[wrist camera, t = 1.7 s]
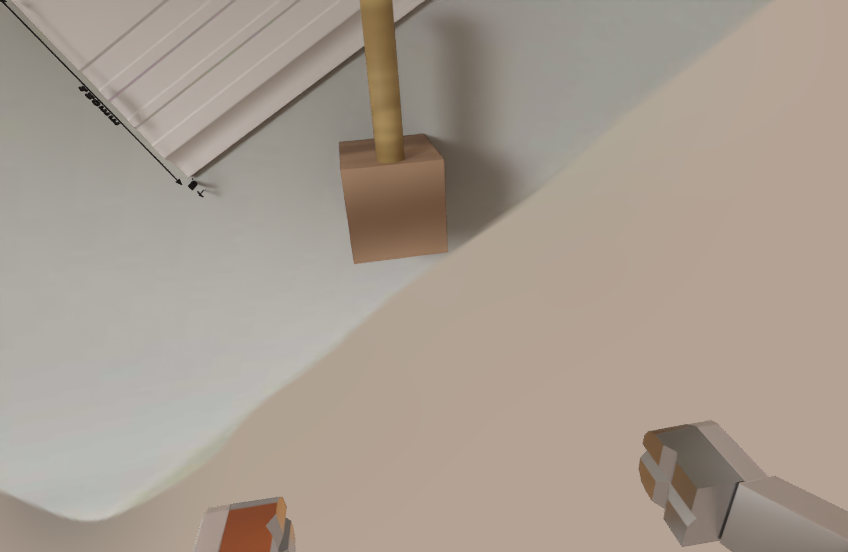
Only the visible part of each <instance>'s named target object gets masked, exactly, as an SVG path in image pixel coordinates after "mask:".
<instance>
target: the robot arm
mask: <svg viewBox="0 0 848 552" xmlns="http://www.w3.org/2000/svg"><path fill="white" fill-rule="evenodd" d="M643 445H644V447H645V448H646V449H647V451H646V452H645V453H644V454H643V455H642V456H641V458H640V463H639V472H640V477H641V482H642V484H643V486H644V488H645V490H646V492H647V494H648V495H649V497H650V499H651V500H652V501H653V502H655V503H656V504H658V505H660V506H661V507H663V508H664V520H665V522H666V523H667V525H668V526H669V528H670V529H671V531H672V532H673V534H674V535H675V537H676V538H677V540H678V542H679V543H680V545H681V546H682V547H684V546H690V545H696V544H702V543H708V542H714V541H720V540H721V541H720V543H721V544H722V545H724V546H725V547H726V548H728V549H729V550H730V551H732V552H848V511H846V510H844V509H842V508H840V507H838V506H836V505H833V504H832V503H829V502H827V501H825V500H823V499H821V498H819V497H817V496H815V495H813V494H811V493H809V492H807V491H805V490H803V489H801V488H799V487H796V486H794V485H792V484H790V483H788V482H786V481H784V480H782V479H780V478H778V477H776V476H772V477H768V476H767V475H766V474H765V472H764V471H763V470H762V469H761V468H760V467H759V466H758V465H757V464H756V463H755V462H754V461H753V460H752V459H751V458H750V457H749V456H748V455H747V454H746V453H745V452H744V451H743V449H742V448H740V446H739V445H738V444H737V443H736V442H735V441H734V440H733V439H732V438H731V437H730V436H729V435H728V434H727V433H726V432H725V431H724V430H723V429H722V428H721V427H720V426H719V424H717V423H716V422H714V421H712V420H710V421H704V422H698V423H693V424H689V425H688V424H685V425H680V426H674V427H669V428H664V429H658V430H653V431H648V432H647V433H646V434H645V435H644V439H643ZM286 508H287V507H286V504H285V501H284V499H283V497H275V498H268V499H262V500H255V501H248V502H242V503H236V504H230V505H223V506H217V507H210V508H208V509H207V511H206V512H205V514H204V516H203V518H202V522H201V525H200V528H199V532H198V535H197V538H196V542H195V545H194V548H193V552H295V535H294V529H293V525H292V522H291V520H289V519H287V518H286Z"/></svg>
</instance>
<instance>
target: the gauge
mask: <svg viewBox="0 0 848 552" xmlns="http://www.w3.org/2000/svg"><path fill="white" fill-rule="evenodd" d="M360 9H361V19H362V28H363V37H364V47H365V56H366V65H367V75H368V84H369V93H370V103H371V112H372V121H373V131H374V139H366V140H355V141H345V142H339V150H340V170H341V177H342V184H343V191H344V198H345V205H346V212H347V219H348V226H349V232H350V239H351V246H352V253H353V260H354V264H358V263H366V262H373V261H381V260H389V259H397V258H405V257H413V256H421V255H429V254H436V253H444V252H448V247H447V222H446V196H445V171H444V159H443V157H442V156H441V155H440V154H439V152H438V151H437V150H436V149H435V147H434V146H433V145H432V144H431V142H430V141H429V140H428V138H427V137H426V136H425V135H424V134H417V135H407V136H403V129H402V117H401V104H400V91H399V78H398V66H397V53H396V40H395V28H394V15H393V2H392V0H360Z"/></svg>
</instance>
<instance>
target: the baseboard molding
mask: <svg viewBox="0 0 848 552" xmlns="http://www.w3.org/2000/svg"><path fill="white" fill-rule="evenodd" d="M11 1H12V2H13V3H14V4H15V5H16V6H17V7H18V8H19V9H20V10H21V11H22V12H23V13H24V14H25V15H26V16H27V17H28V18H29V19H30V20H31V21H32V22H33V23H34V25H35V26H36V27H37V28H38V29H39V30H40V31H41V32H42V33H43V34H44V35H45V36H46V37H47V38H48V39H49V40H50V41H51V42H52V43H53V44H54V45H55V46H56V47H57V48H58V49H59V50H60V51H61V52H62V53H63V54H64V56H65V57H66V58H67V59H68V60H69V61H70V62H71V63H72V64H73V65H74V66H75V67H76V68H77V69H78V70H79V71H81V72H82V73H83V74H84V75H85V76H86V77H87V78H88V79H89V80H90V81H91V82H92V83H93V84H94V85H95V86H96V88H97V89H98V90H99V92H100V93H101V94H102V95H103V96H104V97H105V98H106V99H107V100H108V101H110V102H111V103H112V104H113V105H114V106H115V107H116V108H117V109H118V110H119V111H120V112H121V113H122V114H123V115H124V116H125V118H126V119H127V120H128V122H129V123H130V124H131V125H132V126H133V127H134V128H136V129H137V130H138V131H139V132H140V133H141V134H142V135H143V136H144V137H145V138H146V139H147V140H148V141H149V142H150V143H151V144H152V146H153V147H154V148H155V149H156V150H157V152H158V153H159V154H160V155H161V156H162V157H163V158H164V159H167V160H169V161H170V162H172V163H174V164H175V165H176V166H178V167H179V168H180V169H181V170H182V171H183V172H184V174H185V175H186V176H187V177H188V178H189V177H190V176H192V175H193V174H194V173H196V172H197V171H198V170H200V169H201V168H202V167H204V166H205V165H206V164H208V163H209V162H210V161H212V160H213V159H214V158H216V157H217V156H218V155H220V154H221V153H222V152H224V151H225V150H226V149H228V148H229V147H230V146H232V145H233V144H234V143H236V142H237V141H238V140H240V139H241V138H242V137H244V136H245V135H246V134H248V133H249V132H250V131H252V130H253V129H254V128H256V127H257V126H258V125H260V124H261V123H262V122H264V121H265V120H266V119H268V118H269V117H270V116H272V115H273V114H274V113H276V112H277V111H278V110H280V109H281V108H282V107H284V106H285V105H286V104H288V103H289V102H290V101H292V100H293V99H294V98H296V97H297V96H298V95H300V94H301V93H302V92H304V91H305V90H306V89H308V88H309V87H310V86H312V85H313V84H314V83H316V82H317V81H318V80H320V79H321V78H322V77H324V76H325V75H326V74H328V73H329V72H330V71H332V70H333V69H334V68H336V67H337V66H338V65H340V64H341V63H342V62H344V61H345V60H346V59H348V58H349V57H350V56H352V55H353V54H354V53H356V52H357V51H358V50H360V49H361V48H362V47H364V37H363V28H362V19H361V9H360V0H11ZM424 1H425V0H392V2H393V15H394V23H396V22H397V21H398V20H400V19H401V18H402V17H404V16H405V15H406V14H408V13H409V12H410V11H412V10H413V9H414V8H416V7H417V6H418V5H420V4H421V3H422V2H424ZM0 2H2V3H3V4H4V5H5V6H6V7H7V8H8V9H9V10H10V11H11V12H12V13H13V14H14V15H15V16H16V17H17V18H18V19H19V20H20V21H21V22H22V23H23V24H24V25H25V26H26V27H27V28H28V29H29V30H30V31H31V32H32V33H33V34H34V35H35V36H36V37H37V38H38V39H39V40H40V41H41V42H42V43H43V41H42V40H41V39H40V38H39V37H38V36H37V35H36V34H35V33H34V32H33V31H32V30H31V29H30V28H29V27H28V26H27V25H26V24H25V23H24V22H23V21H22V20H21V19H20V18H19V17H18V16H17V15H16V14H15V13H14V12H13V11H12V10H11V9H10V8H9V7H8V6H7V5H6V4H5V3H4V2H7V1H6V0H0ZM43 44H44V43H43ZM44 45H45V44H44ZM45 46H46V45H45ZM46 47H47V46H46ZM47 48H48V47H47ZM48 50H49V51H50V52H51V53H52V54H53V55H54V56H55V57H56V58H57V59H58V60H59V61H60V62H61V63H62V64H63V65H64V66H65V67H66V68H67V69H68V70H69V71H70V72H71V73H72V74H73V75H74V76H75V77H76V78H77V79H78V80H79V81H80V82H81V83H82V84H83V85H84V86H85V87H86V85H85V84H84V83H83V82H82V81H81V80H80V79H79V78H78V77H77V76H76V75H75V74H74V73H73V72H72V71H71V70H70V69H69V68H68V67H67V66H66V65H65V64H64V63H63V62H62V61H61V60H60V59H59V58H58V57H57V56H56V55H55V54H54V53H53V52H52V51H51V50H50V49H49V48H48ZM84 86H82V88H81V87H79V89H80V91H85V92H87V91H88V90H89V89H88V88H87V87H86V88H87V89H88V90H87V89H86V88H85V87H84ZM89 91H90V90H89ZM90 92H91V91H90ZM90 92H89V93H88V94H87V93H86V94H85V96H86V97H87V98H88V99H90V100H91V99H93V100H92V103H93V104H94V105H95V106H99V105H100V103H101V104H102V105H103V106H104V107H105V108H106V109H107V110H108V111H109V112H110V113H111V114H112V115H113V116H114V117H115V118H116V119H117V120H118V121H119V122H120V123H121V124H122V125H123V126H124V127H125V128H126V129H127V130H128V131H129V132H130V130H129V129H128V128H127V127H126V126H125V125H124V124H123V123H122V122H121V121H120V120H119V119H118V118H117V117H116V116H115V115H114V114H113V113H112V112H111V111H110V110H109V109H108V108H107V107H106V106H105V105H104V104H103V103H102V102H101V101H100V100H99V99H98V98H97V97H96V96H95V95H94V94H93V93H92V92H91V93H92V94H93V95H94V96H95V97H94V96H93V95H92V94H91V93H90ZM94 98H96V99H97V100H96V99H94ZM95 102H96V103H95ZM103 106H100V107H98V108H99V109H101V111H102V112H104V114H105V115H106V116H108V115H110V113H109V112H108V113H107V112H106V111H107V110H106V109H103V108H104V107H103ZM112 115H111V116H109V117H108V118H109V119H110V120H111V121H112V122H113V123H114V124H115V125H119V124H120V123H119V122H115V121H116V119H112V118H113V116H112ZM130 133H131V132H130ZM131 134H132V133H131ZM132 135H133V134H132ZM133 136H134V135H133ZM134 137H135V136H134ZM135 138H136V137H135ZM136 139H137V138H136ZM137 140H138V139H137ZM138 141H139V140H138ZM139 142H140V141H139ZM140 143H141V142H140ZM141 144H142V143H141ZM142 145H143V144H142ZM143 147H144V148H145V149H146V150H147V151H148V152H149V153H150V154H151V155H152V156H153V157H154V158H155V159H156V160H157V161H158V162H159V163H160V164H161V165H162V166H163V167H164V168H165V169H166V170H167V171H168V172H169V173H170V174H171V175H172V176H173V174H172V173H171V172H170V171H169V170H168V169H167V168H166V167H165V166H164V165H163V164H162V163H161V162H160V161H159V160H158V159H157V158H156V157H155V156H154V155H153V154H152V153H151V152H150V151H149V150H148V149H147V148H146V147H145V146H144V145H143ZM173 177H174V176H173ZM174 178H175V177H174ZM175 179H176V178H175ZM176 180H177V179H176ZM192 180H193V178H192ZM176 183H178V184H180V185H182V183H181V181H180V179H178V180H177V181H176ZM196 186H197V183H196V182H195V181H192V182H191V183H190V184H189V185H188V187H189V188H190V189H191V190H193V189H194V188H195V187H196ZM203 191H204V190H203ZM203 191H202V192H203ZM197 192H198V191H197ZM202 192H201V193H199V192H198V194H199V196H201V197H203V196H202V195H201V194H202Z"/></svg>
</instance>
